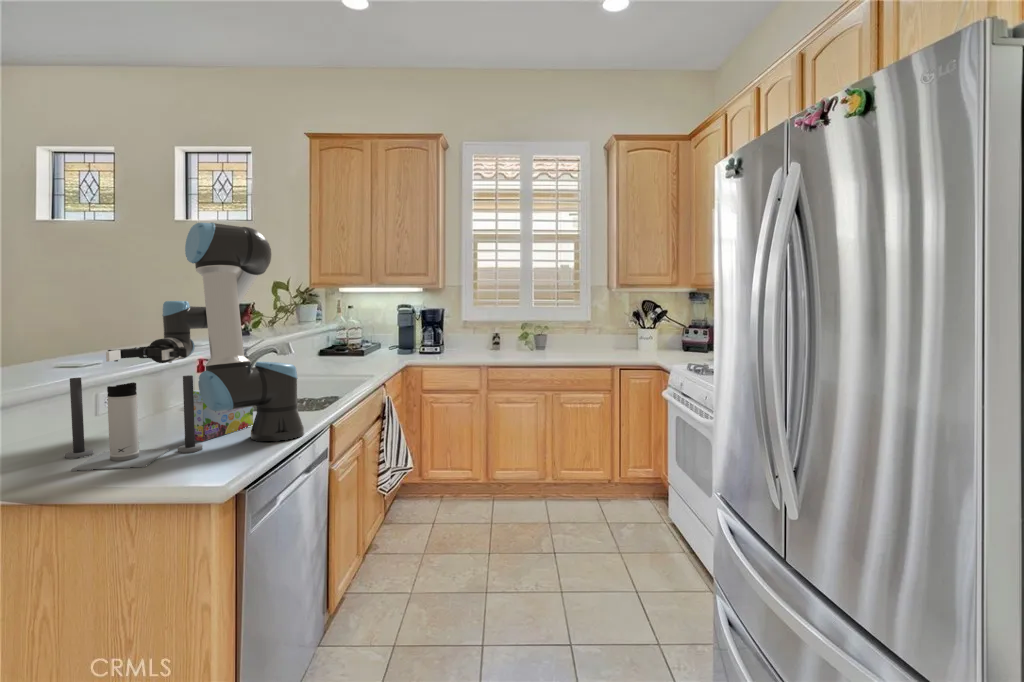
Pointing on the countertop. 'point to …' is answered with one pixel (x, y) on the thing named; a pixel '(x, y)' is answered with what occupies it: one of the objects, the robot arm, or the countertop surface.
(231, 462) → the countertop surface
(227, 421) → the snack box
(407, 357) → the countertop surface
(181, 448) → the post
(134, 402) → the travel mug
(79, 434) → the post
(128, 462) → the mat
